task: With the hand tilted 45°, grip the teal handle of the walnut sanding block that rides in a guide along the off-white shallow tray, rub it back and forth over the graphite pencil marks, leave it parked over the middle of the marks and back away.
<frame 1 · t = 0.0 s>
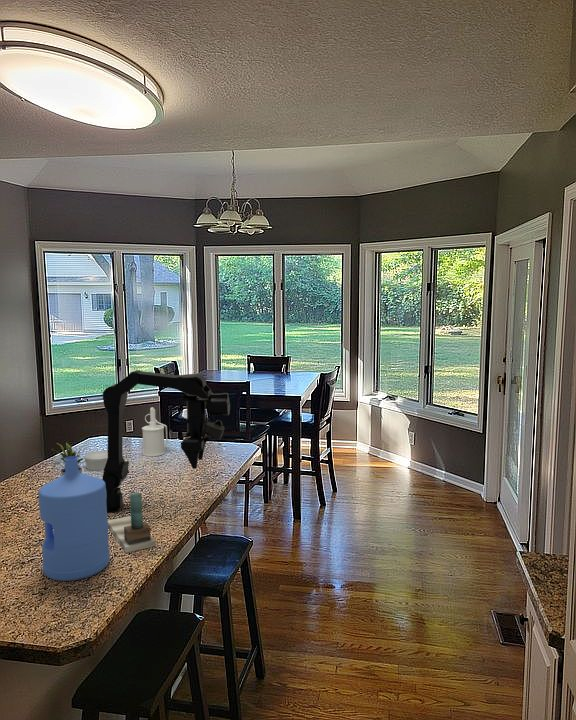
hand: (197, 464, 175), 15 cm above the kitchen island, tool pointing down, fingers open, 9 cm apart
off-white shallow tray: (130, 535, 157), on the kitchen island
sanding block: (136, 517, 150), point 8 cm above the kitchen island, slide at 0.0 cm
white oil can: (155, 454, 238), on the kitchen island
water jug: (77, 567, 139), on the kitchen island
house plant: (68, 487, 198), on the kitchen island
ramekin: (99, 468, 220), on the kitchen island
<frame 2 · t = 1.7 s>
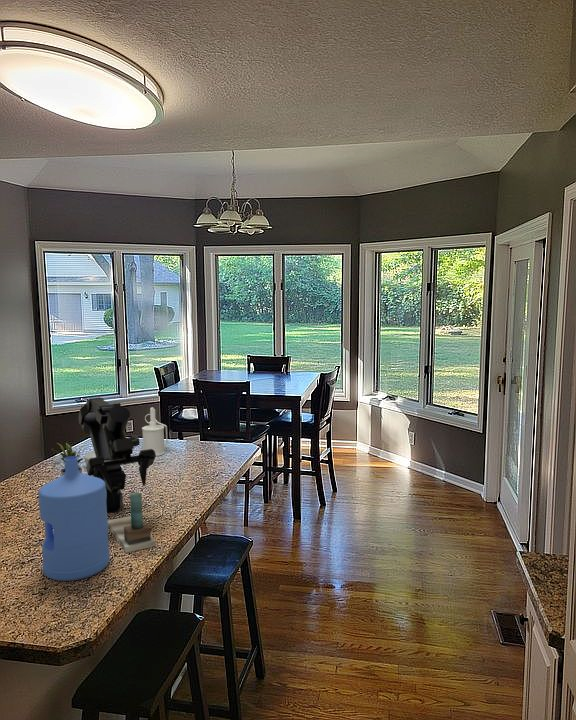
hand: (128, 488, 157), 13 cm above the kitchen island, tool tilted 45°, fingers open, 9 cm apart
nothing on the kitchen island moved.
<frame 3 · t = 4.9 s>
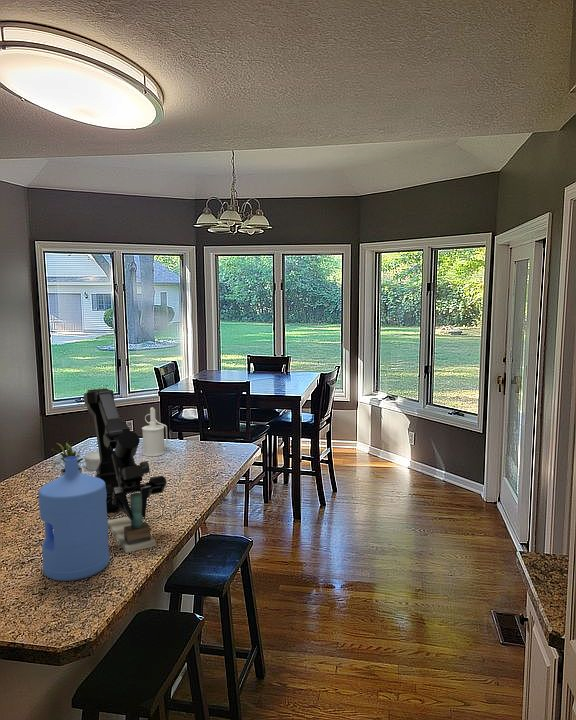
hand: (138, 518, 149), 8 cm above the kitchen island, tool tilted 45°, fingers closed on sanding block, 3 cm apart
sanding block: (136, 517, 150), point 8 cm above the kitchen island, slide at 0.0 cm, touching gripper
everything else where it was.
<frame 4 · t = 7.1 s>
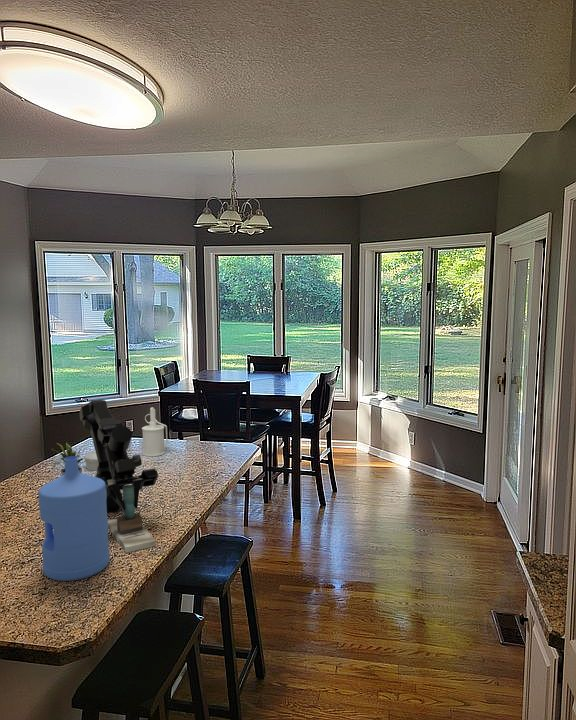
hand: (130, 509, 155), 8 cm above the kitchen island, tool tilted 45°, fingers closed on sanding block, 3 cm apart
sanding block: (129, 508, 157), point 8 cm above the kitchen island, slide at -7.4 cm, touching gripper
everything else where it was.
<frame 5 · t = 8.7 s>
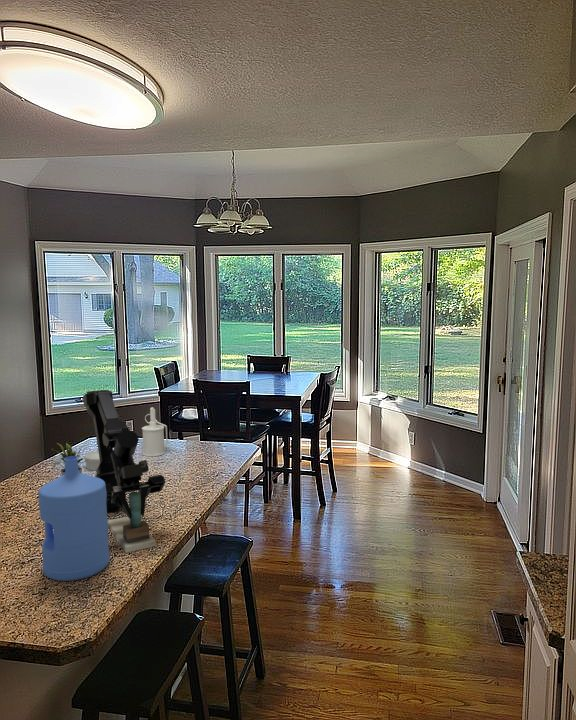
hand: (137, 516, 150), 8 cm above the kitchen island, tool tilted 45°, fingers closed on sanding block, 3 cm apart
sanding block: (135, 515, 151), point 8 cm above the kitchen island, slide at -1.1 cm, touching gripper
everything else where it was.
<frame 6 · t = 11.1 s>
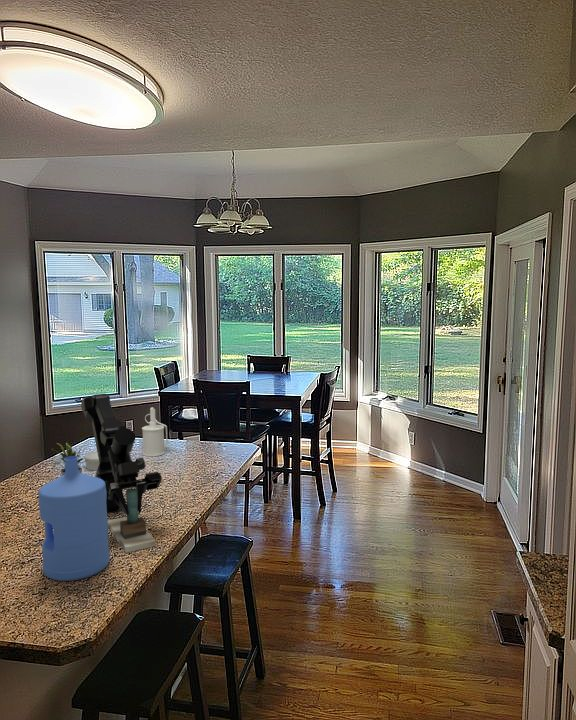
hand: (133, 513, 153), 8 cm above the kitchen island, tool tilted 45°, fingers closed on sanding block, 3 cm apart
sanding block: (132, 512, 154), point 8 cm above the kitchen island, slide at -4.1 cm, touching gripper
everything else where it was.
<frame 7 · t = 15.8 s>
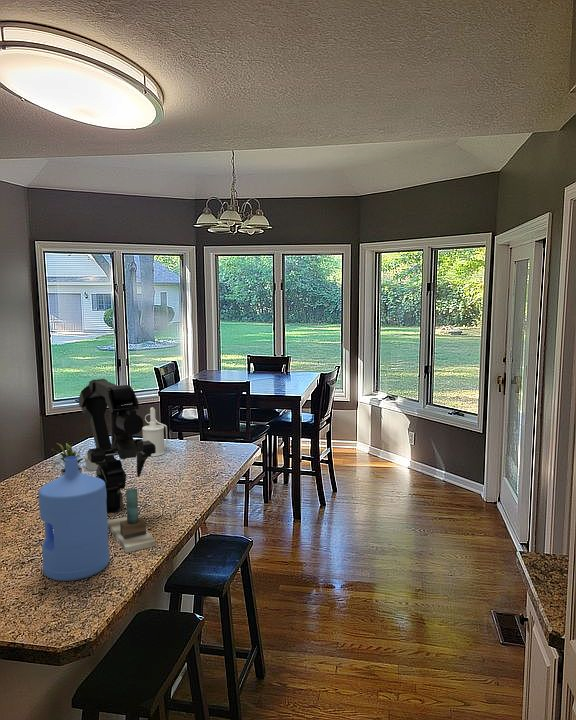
hand: (123, 479, 165), 13 cm above the kitchen island, tool pointing down, fingers open, 9 cm apart
sanding block: (132, 512, 154), point 8 cm above the kitchen island, slide at -4.1 cm
everything else where it was.
at the end: sanding block slide at -4.1 cm; the gripper is holding nothing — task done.
